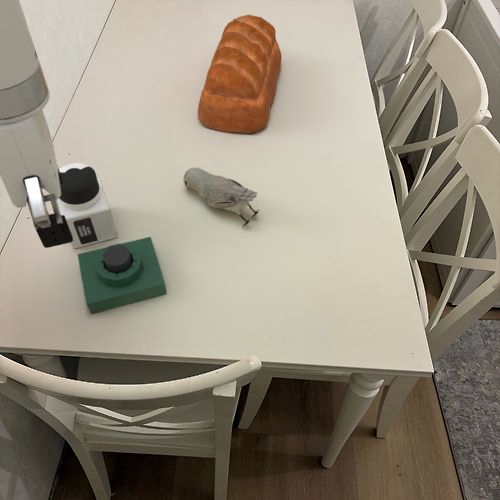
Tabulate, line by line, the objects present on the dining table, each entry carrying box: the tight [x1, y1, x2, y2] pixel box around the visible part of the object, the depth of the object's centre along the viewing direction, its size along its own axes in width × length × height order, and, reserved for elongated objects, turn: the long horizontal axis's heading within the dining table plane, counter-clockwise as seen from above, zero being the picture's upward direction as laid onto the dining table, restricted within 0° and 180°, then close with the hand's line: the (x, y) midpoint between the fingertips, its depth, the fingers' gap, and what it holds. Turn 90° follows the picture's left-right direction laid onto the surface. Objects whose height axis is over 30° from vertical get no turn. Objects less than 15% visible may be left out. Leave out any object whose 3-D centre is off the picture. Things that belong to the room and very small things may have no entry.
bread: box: [197, 14, 283, 134], centre depth 108 cm, size 16×31×13 cm, turn 170°
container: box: [57, 162, 118, 249], centre depth 80 cm, size 8×8×13 cm
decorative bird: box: [183, 167, 260, 230], centre depth 87 cm, size 5×16×8 cm, turn 55°
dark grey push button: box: [103, 244, 132, 273], centre depth 75 cm, size 4×4×2 cm
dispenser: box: [77, 236, 167, 315], centre depth 77 cm, size 12×10×5 cm
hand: (54, 212), depth 58 cm, fingers open, 9 cm apart
